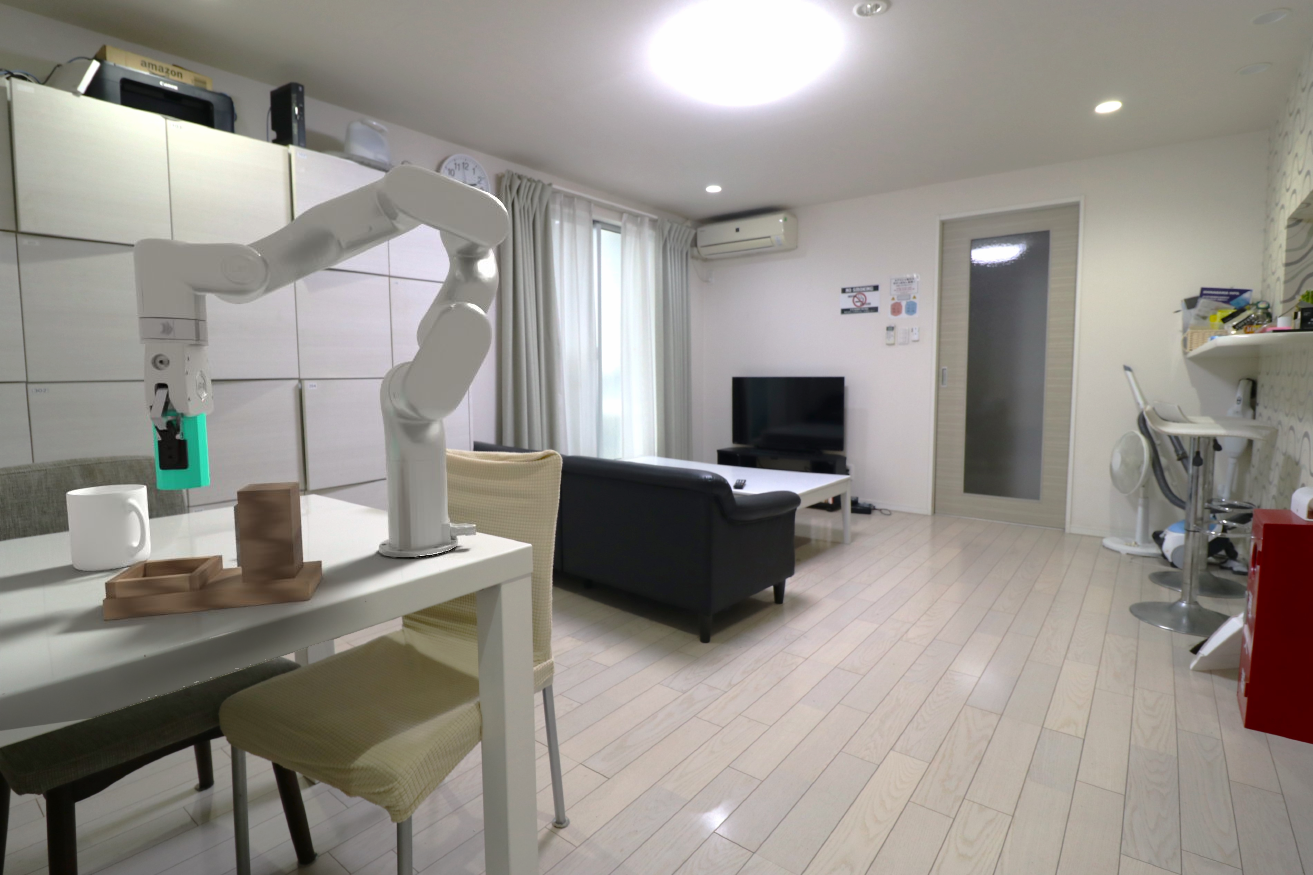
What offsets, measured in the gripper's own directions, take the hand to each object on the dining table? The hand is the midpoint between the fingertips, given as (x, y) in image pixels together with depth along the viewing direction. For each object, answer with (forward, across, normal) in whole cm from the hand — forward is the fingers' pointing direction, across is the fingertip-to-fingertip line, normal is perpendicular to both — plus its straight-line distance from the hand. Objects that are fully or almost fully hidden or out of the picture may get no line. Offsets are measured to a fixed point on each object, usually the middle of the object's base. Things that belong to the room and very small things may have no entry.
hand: (183, 465), depth 89 cm
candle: (+3, 0, 0) cm, 3 cm away
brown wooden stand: (+17, -8, -6) cm, 20 cm away
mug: (+17, +15, +14) cm, 27 cm away
